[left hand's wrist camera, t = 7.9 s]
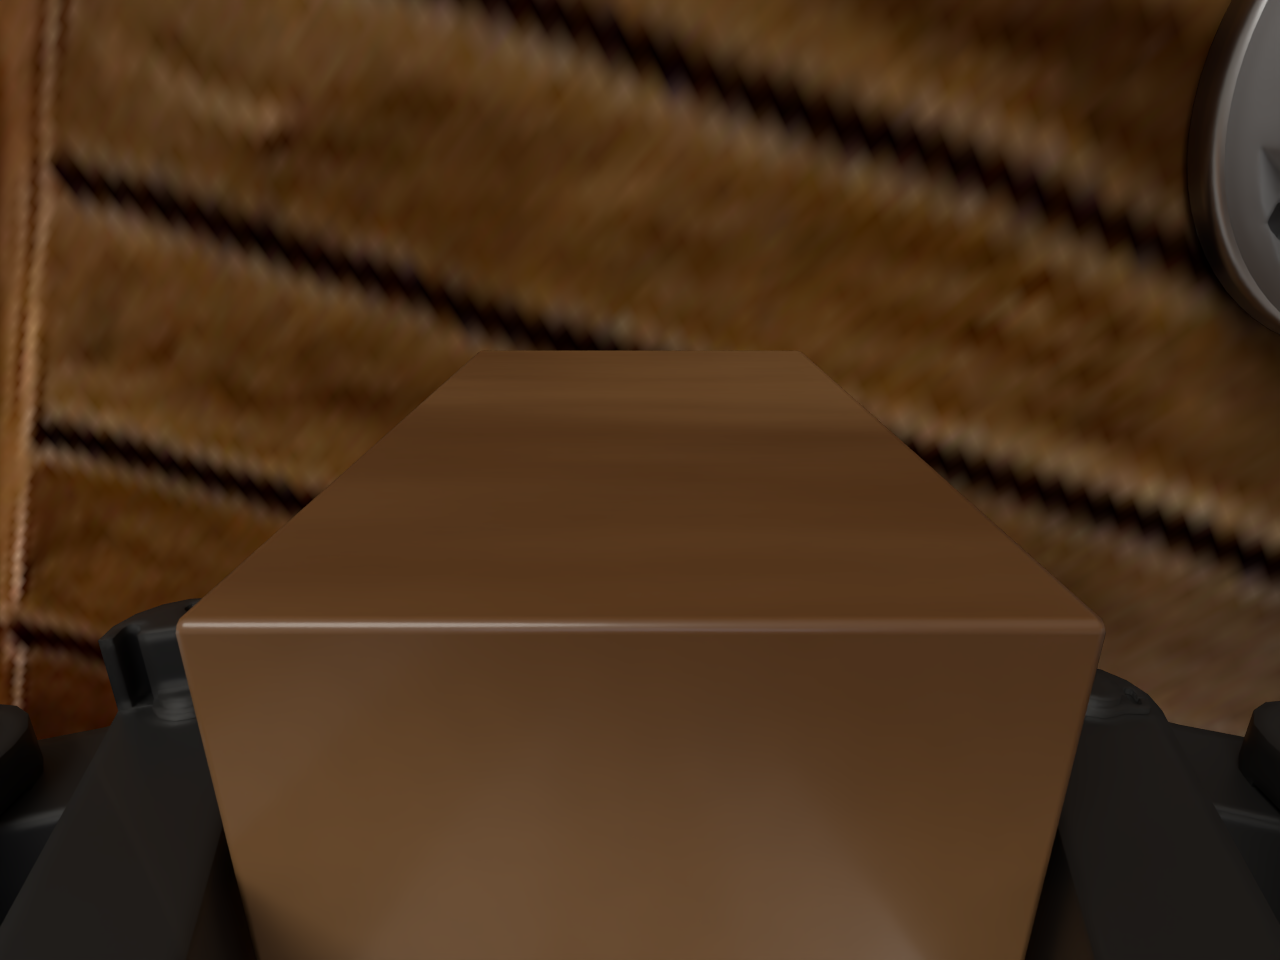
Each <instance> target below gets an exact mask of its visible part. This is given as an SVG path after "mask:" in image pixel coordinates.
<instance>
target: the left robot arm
mask: <svg viewBox="0 0 1280 960" xmlns="http://www.w3.org/2000/svg"><path fill="white" fill-rule="evenodd" d="M1187 171H1188V190H1189V198H1190V206H1191V212H1192V216H1193V220H1194V224H1195V228H1196V232H1197V235H1198V238H1199V241H1200V244H1201V246H1202V249H1203V252H1204V254H1205V256H1206V258H1207V260H1208V262H1209V264H1210V266H1211V268H1212V270H1213V272H1214V274H1215V275H1216V277H1217V278H1218V280H1219V281H1220V283H1221V284H1222V286H1223V287H1224V289H1225V290H1226V291H1227V292H1228V294H1229V295H1230V296H1231V297H1232V298H1233V299H1234V300H1235V301H1236V303H1237V304H1238V305H1239V306H1240V307H1241V308H1242V309H1244V310H1245V311H1246V312H1247V313H1248V314H1249V315H1250V316H1252V317H1253V318H1254V319H1255V320H1257V321H1258V322H1259V323H1261V324H1262V325H1264V326H1265V327H1267V328H1268V329H1270V330H1271V331H1273V332H1275V333H1277V334H1279V335H1280V0H1232V1H1231V3H1230V5H1229V7H1228V9H1227V11H1226V13H1225V15H1224V17H1223V19H1222V21H1221V24H1220V26H1219V28H1218V31H1217V33H1216V35H1215V38H1214V40H1213V43H1212V45H1211V47H1210V50H1209V53H1208V56H1207V59H1206V62H1205V65H1204V68H1203V71H1202V74H1201V77H1200V81H1199V85H1198V89H1197V93H1196V97H1195V101H1194V105H1193V111H1192V118H1191V124H1190V130H1189V141H1188V156H1187ZM201 599H202V598H200V599H188V600H183V601H178V602H173V603H168V604H164V605H161V606H158V607H155V608H152V609H149V610H146V611H144V612H141V613H138V614H135V615H134V616H132V617H130V618H128V619H126V620H124V621H123V622H121V623H119V624H117V625H115V626H114V627H112V628H111V629H110V630H109V631H108V632H107V633H106V634H105V635H104V636H103V637H102V638H101V639H99V640H98V642H99V645H100V649H101V652H102V655H103V659H104V662H105V666H106V669H107V673H108V676H109V680H110V683H111V686H112V690H113V693H114V697H115V700H116V704H117V707H118V713H117V715H116V717H115V718H114V720H113V722H112V724H111V726H108V727H104V728H100V729H95V730H89V731H84V732H79V733H74V734H68V735H63V736H58V737H53V738H48V739H42V740H37V738H36V735H35V732H34V729H33V726H32V723H31V720H30V718H29V715H28V713H26V712H25V711H23V710H22V709H20V708H19V707H17V706H12V705H2V704H0V960H256V957H255V953H254V948H253V944H252V940H251V936H250V932H249V928H248V924H247V920H246V916H245V912H244V908H243V904H242V900H241V896H240V892H239V888H238V884H237V880H236V876H235V872H234V868H233V864H232V859H231V855H230V851H229V847H228V843H227V839H226V835H225V831H224V827H223V823H222V819H221V815H220V811H219V807H218V803H217V799H216V795H215V791H214V787H213V783H212V779H211V775H210V770H209V766H208V762H207V758H206V754H205V750H204V746H203V742H202V738H201V734H200V730H199V726H198V722H197V718H196V714H195V710H194V706H193V702H192V698H191V694H190V690H189V686H188V682H187V677H186V673H185V669H184V665H183V661H182V657H181V653H180V649H179V645H178V641H177V637H176V626H177V623H178V621H179V619H180V618H181V617H182V616H183V615H184V614H185V613H186V612H188V611H189V610H190V609H191V608H192V607H193V606H194V605H195V604H197V603H198V602H199V601H200V600H201ZM1025 960H1280V701H1275V702H1265V703H1264V704H1262V705H1261V706H1259V707H1258V708H1257V709H1255V710H1254V711H1253V714H1252V717H1251V720H1250V723H1249V726H1248V729H1247V731H1246V734H1245V737H1241V736H1236V735H1230V734H1225V733H1220V732H1215V731H1209V730H1204V729H1199V728H1194V727H1188V726H1183V725H1178V724H1174V723H1170V722H1168V721H1167V719H1166V717H1165V715H1164V713H1163V712H1162V710H1161V709H1160V708H1159V706H1158V705H1157V704H1156V703H1155V702H1154V701H1153V700H1152V698H1151V697H1150V696H1149V695H1148V694H1147V693H1145V692H1143V691H1142V690H1140V689H1139V688H1137V687H1136V686H1134V685H1133V684H1131V683H1130V682H1128V681H1127V680H1124V679H1122V678H1120V677H1117V676H1115V675H1112V674H1110V673H1108V672H1105V671H1103V670H1100V669H1097V670H1096V674H1095V678H1094V682H1093V686H1092V690H1091V694H1090V698H1089V702H1088V706H1087V711H1086V715H1085V719H1084V723H1083V727H1082V731H1081V735H1080V739H1079V743H1078V747H1077V751H1076V755H1075V759H1074V763H1073V767H1072V771H1071V775H1070V779H1069V783H1068V787H1067V791H1066V795H1065V799H1064V803H1063V807H1062V811H1061V815H1060V819H1059V823H1058V827H1057V831H1056V835H1055V839H1054V843H1053V847H1052V851H1051V855H1050V859H1049V864H1048V868H1047V872H1046V876H1045V880H1044V884H1043V888H1042V892H1041V896H1040V900H1039V904H1038V908H1037V912H1036V916H1035V920H1034V924H1033V928H1032V932H1031V936H1030V940H1029V944H1028V948H1027V952H1026V956H1025Z"/></svg>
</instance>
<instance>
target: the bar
mask: <svg viewBox="0 0 1280 960" xmlns="http://www.w3.org/2000/svg"><path fill="white" fill-rule="evenodd" d="M1105 634H1106V632H1105V625H1104V623H1103V620H1102V619H1101V618H1100V617H1099V616H1098V615H1097V614H1096V613H1095V612H1093V611H1092V610H1091V609H1090V608H1089V607H1088V606H1087V605H1086V604H1084V603H1083V602H1082V601H1081V600H1080V599H1079V598H1078V597H1077V596H1075V595H1074V594H1073V593H1072V592H1071V591H1070V590H1069V589H1068V588H1066V587H1065V586H1064V585H1063V584H1062V583H1061V582H1060V581H1059V580H1057V579H1056V578H1055V577H1054V576H1053V575H1052V574H1051V573H1050V572H1048V571H1047V570H1046V569H1045V568H1044V567H1043V566H1042V565H1041V564H1039V563H1038V562H1037V561H1036V560H1035V559H1034V558H1033V557H1032V556H1030V555H1029V554H1028V553H1027V552H1026V551H1025V550H1024V549H1023V548H1021V547H1020V546H1019V545H1018V544H1017V543H1016V542H1015V541H1014V540H1012V539H1011V538H1010V537H1009V536H1008V535H1007V534H1006V533H1005V532H1003V531H1002V530H1001V529H1000V528H999V527H998V526H997V525H995V524H994V523H993V522H992V521H991V520H990V519H989V518H988V517H986V516H985V515H984V514H983V513H982V512H981V511H980V510H979V509H977V508H976V507H975V506H974V505H973V504H972V503H971V502H970V501H968V500H967V499H966V498H965V497H964V496H963V495H962V494H961V493H959V492H958V491H957V490H956V489H955V488H954V487H953V486H952V485H950V484H949V483H948V482H947V481H946V480H945V479H944V478H943V477H941V476H940V475H939V474H938V473H937V472H936V471H935V470H934V469H932V468H931V467H930V466H929V465H928V464H927V463H926V462H925V461H923V460H922V459H921V458H920V457H919V456H918V455H917V454H916V453H914V452H913V451H912V450H911V449H910V448H909V447H908V446H907V445H905V444H904V443H903V442H902V441H901V440H900V439H899V438H898V437H896V436H895V435H894V434H893V433H892V432H891V431H890V430H889V429H887V428H886V427H885V426H884V425H883V424H882V423H881V422H880V421H878V420H877V419H876V418H875V417H874V416H873V415H872V414H871V413H869V412H868V411H867V410H866V409H865V408H864V407H863V406H862V405H860V404H859V403H858V402H857V401H856V400H855V399H854V398H853V397H851V396H850V395H849V394H848V393H847V392H846V391H845V390H844V389H842V388H841V387H840V386H839V385H838V384H837V383H836V382H835V381H833V380H832V379H831V378H830V377H829V376H828V375H827V374H826V373H824V372H823V371H822V370H821V369H820V368H819V367H818V366H817V365H815V364H814V363H813V362H812V361H811V360H810V359H809V358H808V357H806V356H805V355H804V354H803V353H802V352H800V351H481V352H479V353H477V354H476V355H475V356H474V357H473V358H472V359H471V360H470V361H468V362H467V363H466V364H465V365H464V366H463V367H462V368H461V369H459V370H458V371H457V372H456V373H455V374H454V375H453V376H452V377H450V378H449V379H448V380H447V381H446V382H445V383H444V384H443V385H441V386H440V387H439V388H438V389H437V390H436V391H435V392H434V393H432V394H431V395H430V396H429V397H428V398H427V399H426V400H425V401H423V402H422V403H421V404H420V405H419V406H418V407H417V408H416V409H414V410H413V411H412V412H411V413H410V414H409V415H408V416H407V417H406V418H404V419H403V420H402V421H401V422H400V423H399V424H398V425H397V426H395V427H394V428H393V429H392V430H391V431H390V432H389V433H388V434H386V435H385V436H384V437H383V438H382V439H381V440H380V441H379V442H377V443H376V444H375V445H374V446H373V447H372V448H371V449H370V450H368V451H367V452H366V453H365V454H364V455H363V456H362V457H361V458H359V459H358V460H357V461H356V462H355V463H354V464H353V465H352V466H350V467H349V468H348V469H347V470H346V471H345V472H344V473H343V474H341V475H340V476H339V477H338V478H337V479H336V480H335V481H334V482H332V483H331V484H330V485H329V486H328V487H327V488H326V489H325V490H323V491H322V492H321V493H320V494H319V495H318V496H317V497H316V498H314V499H313V500H312V501H311V502H310V503H309V504H308V505H307V506H306V507H304V508H303V509H302V510H301V511H300V512H299V513H298V514H297V515H295V516H294V517H293V518H292V519H291V520H290V521H289V522H288V523H286V524H285V525H284V526H283V527H282V528H281V529H280V530H279V531H277V532H276V533H275V534H274V535H273V536H272V537H271V538H270V539H268V540H267V541H266V542H265V543H264V544H263V545H262V546H261V547H259V548H258V549H257V550H256V551H255V552H254V553H253V554H252V555H250V556H249V557H248V558H247V559H246V560H245V561H244V562H243V563H241V564H240V565H239V566H238V567H237V568H236V569H235V570H234V571H232V572H231V573H230V574H229V575H228V576H227V577H226V578H225V579H223V580H222V581H221V582H220V583H219V584H218V585H217V586H216V587H214V588H213V589H212V590H211V591H210V592H209V593H208V594H207V595H206V596H204V597H203V598H202V599H201V600H200V601H199V602H198V603H197V604H195V605H194V606H193V607H192V608H191V609H190V610H189V611H188V612H186V613H185V614H184V615H183V616H182V617H181V618H180V619H179V621H178V623H177V626H176V637H177V641H178V645H179V649H180V653H181V657H182V661H183V665H184V669H185V673H186V677H187V682H188V686H189V690H190V694H191V698H192V702H193V706H194V710H195V714H196V718H197V722H198V726H199V730H200V734H201V738H202V742H203V746H204V750H205V754H206V758H207V762H208V766H209V770H210V775H211V779H212V783H213V787H214V791H215V795H216V799H217V803H218V807H219V811H220V815H221V819H222V823H223V827H224V831H225V835H226V839H227V843H228V847H229V851H230V855H231V859H232V864H233V868H234V872H235V876H236V880H237V884H238V888H239V892H240V896H241V900H242V904H243V908H244V912H245V916H246V920H247V924H248V928H249V932H250V936H251V940H252V944H253V948H254V953H255V957H256V960H1025V956H1026V952H1027V948H1028V944H1029V940H1030V936H1031V932H1032V928H1033V924H1034V920H1035V916H1036V912H1037V908H1038V904H1039V900H1040V896H1041V892H1042V888H1043V884H1044V880H1045V876H1046V872H1047V868H1048V864H1049V859H1050V855H1051V851H1052V847H1053V843H1054V839H1055V835H1056V831H1057V827H1058V823H1059V819H1060V815H1061V811H1062V807H1063V803H1064V799H1065V795H1066V791H1067V787H1068V783H1069V779H1070V775H1071V771H1072V767H1073V763H1074V759H1075V755H1076V751H1077V747H1078V743H1079V739H1080V735H1081V731H1082V727H1083V723H1084V719H1085V715H1086V711H1087V706H1088V702H1089V698H1090V694H1091V690H1092V686H1093V682H1094V678H1095V674H1096V670H1097V666H1098V662H1099V658H1100V654H1101V650H1102V646H1103V642H1104V638H1105Z"/></svg>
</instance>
